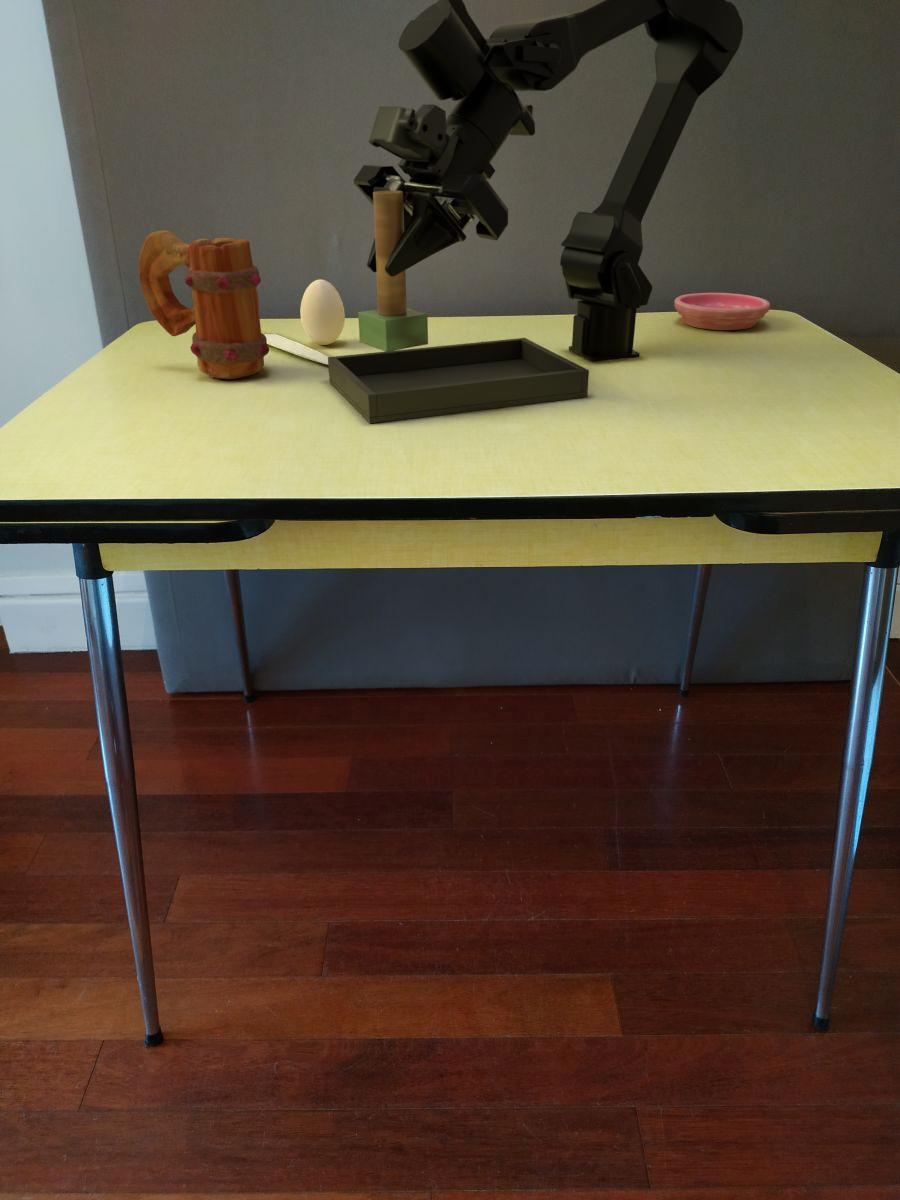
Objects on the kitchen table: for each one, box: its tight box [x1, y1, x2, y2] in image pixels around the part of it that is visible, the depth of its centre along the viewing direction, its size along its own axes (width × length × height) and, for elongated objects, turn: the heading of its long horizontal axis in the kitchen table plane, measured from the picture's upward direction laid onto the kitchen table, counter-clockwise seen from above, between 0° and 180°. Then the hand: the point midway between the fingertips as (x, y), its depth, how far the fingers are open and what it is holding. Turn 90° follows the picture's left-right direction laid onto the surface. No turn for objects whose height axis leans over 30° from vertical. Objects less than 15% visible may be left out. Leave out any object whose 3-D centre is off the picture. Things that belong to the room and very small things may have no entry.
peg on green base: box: [357, 190, 429, 352], centre depth 88 cm, size 5×5×14 cm
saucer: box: [674, 292, 771, 331], centre depth 124 cm, size 12×12×3 cm
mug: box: [137, 229, 270, 380], centre depth 100 cm, size 15×8×15 cm, turn 71°
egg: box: [299, 279, 346, 346], centre depth 113 cm, size 6×6×8 cm
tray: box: [327, 337, 590, 424], centre depth 97 cm, size 24×16×3 cm, turn 111°
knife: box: [261, 330, 329, 366], centre depth 116 cm, size 1×34×5 cm
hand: (379, 271), depth 87 cm, fingers closed on peg on green base, 3 cm apart
